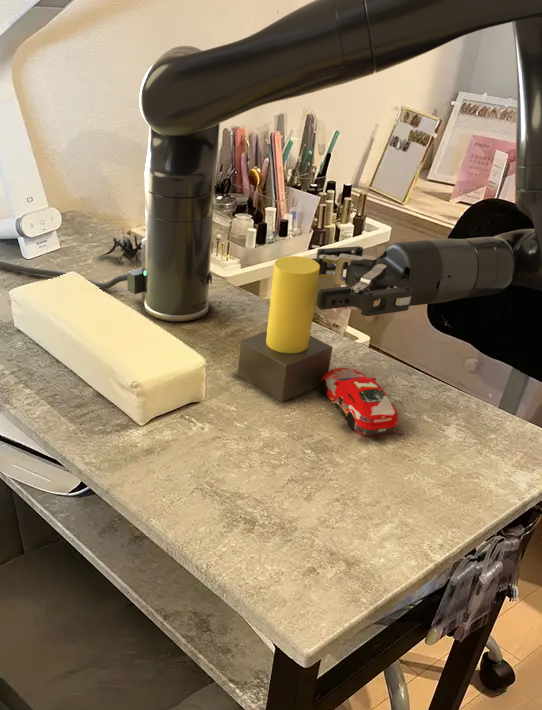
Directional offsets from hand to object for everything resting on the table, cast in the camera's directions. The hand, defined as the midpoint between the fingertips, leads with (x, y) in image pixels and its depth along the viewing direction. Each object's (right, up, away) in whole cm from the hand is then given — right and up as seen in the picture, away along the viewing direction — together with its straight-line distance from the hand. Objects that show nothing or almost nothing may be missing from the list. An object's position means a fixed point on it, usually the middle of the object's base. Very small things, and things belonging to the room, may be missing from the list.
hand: (303, 284), depth 90 cm
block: (-1, -10, +8) cm, 13 cm away
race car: (+7, -15, +2) cm, 16 cm away
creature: (-23, +15, +38) cm, 47 cm away
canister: (-1, -6, +4) cm, 8 cm away
